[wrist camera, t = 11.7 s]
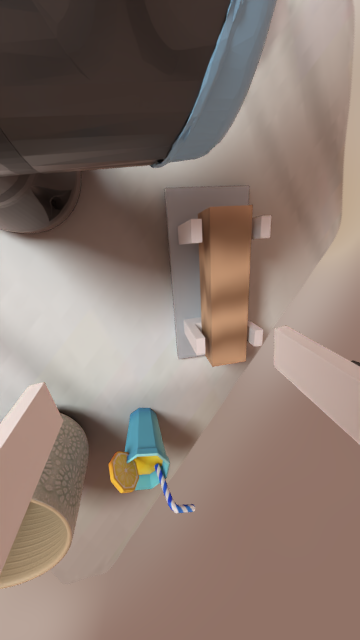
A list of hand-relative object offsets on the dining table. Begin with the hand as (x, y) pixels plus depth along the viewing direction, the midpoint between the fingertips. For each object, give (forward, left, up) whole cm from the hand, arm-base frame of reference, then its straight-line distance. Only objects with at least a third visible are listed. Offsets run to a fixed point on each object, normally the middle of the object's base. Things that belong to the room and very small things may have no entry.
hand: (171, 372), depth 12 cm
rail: (-1, +10, -19) cm, 21 cm away
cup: (+25, -3, -23) cm, 34 cm away
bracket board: (-1, +10, -23) cm, 25 cm away
